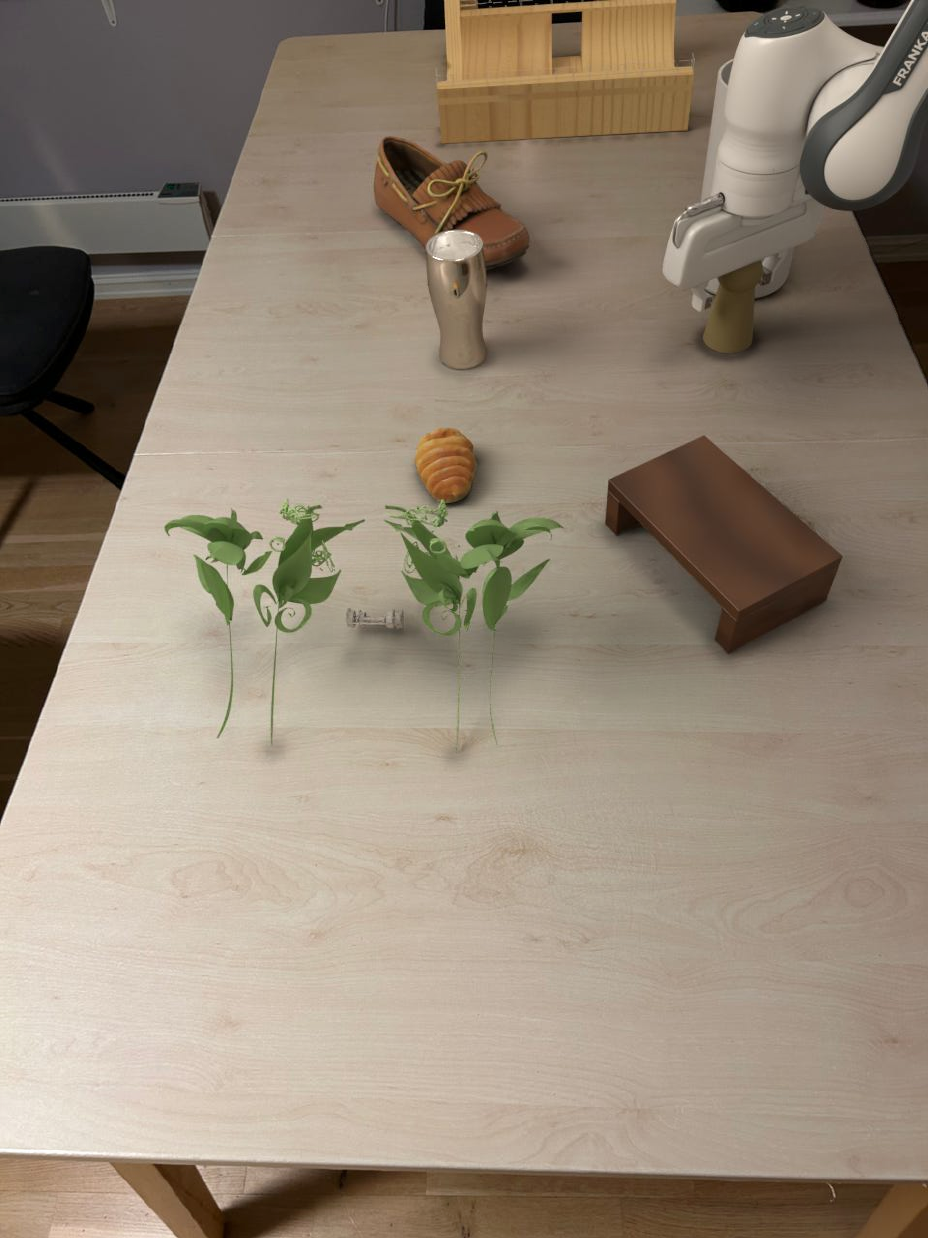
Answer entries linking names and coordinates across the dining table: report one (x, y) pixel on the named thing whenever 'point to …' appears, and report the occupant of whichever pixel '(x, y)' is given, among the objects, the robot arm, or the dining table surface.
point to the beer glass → (458, 296)
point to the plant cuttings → (432, 568)
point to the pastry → (446, 464)
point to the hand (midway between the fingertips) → (732, 294)
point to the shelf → (726, 537)
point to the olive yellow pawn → (733, 310)
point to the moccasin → (443, 200)
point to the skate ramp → (561, 72)
